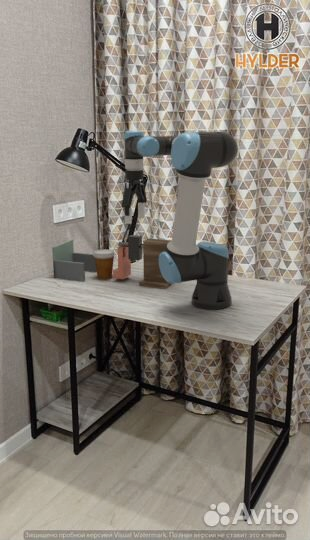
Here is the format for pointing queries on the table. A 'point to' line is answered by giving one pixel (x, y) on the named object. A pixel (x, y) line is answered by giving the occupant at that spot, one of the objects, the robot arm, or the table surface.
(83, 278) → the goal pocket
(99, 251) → the disposable coffee cup
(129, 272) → the player rod
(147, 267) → the brown wooden flanged block
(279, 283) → the table surface
